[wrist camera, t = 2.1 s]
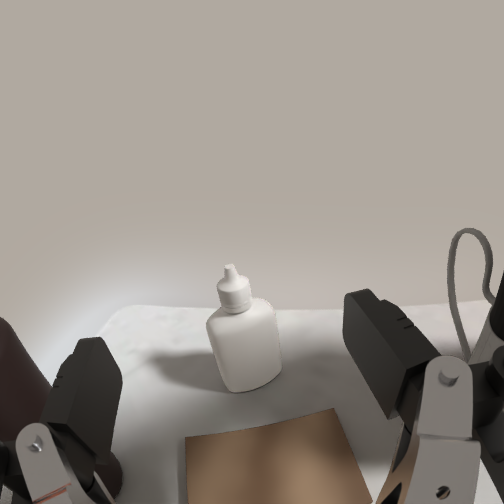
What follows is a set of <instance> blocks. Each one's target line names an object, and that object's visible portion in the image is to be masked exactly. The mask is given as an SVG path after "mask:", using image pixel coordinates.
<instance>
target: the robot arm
mask: <svg viewBox="0 0 504 504" xmlns="http://www.w3.org/2000/svg"><path fill="white" fill-rule="evenodd" d="M343 339H344V342H345V345H346V347H347V349H348V351H349V353H350V354H351V356H352V358H353V359H354V361H355V363H356V365H357V366H358V368H359V370H360V372H361V373H362V375H363V377H364V378H365V380H366V382H367V384H368V385H369V387H370V389H371V391H372V392H373V394H374V396H375V398H376V400H377V401H378V403H379V405H380V407H381V408H382V410H383V412H384V414H385V416H386V417H387V419H388V420H390V419H392V418H394V417H397V416H399V415H400V417H401V418H402V420H403V423H402V426H401V430H400V435H399V439H398V442H397V446H396V450H395V454H394V457H393V461H392V464H391V467H390V471H389V474H388V477H387V479H386V481H385V483H384V485H383V487H382V489H381V492H380V494H379V496H378V499H377V501H376V504H474V499H475V493H476V487H477V480H478V473H479V465H480V458H481V460H482V462H483V464H484V466H485V467H486V469H487V471H488V473H489V475H490V477H491V479H492V481H493V483H494V485H495V487H496V489H497V491H498V493H499V495H500V497H501V499H502V502H503V504H504V411H503V410H504V345H503V346H500V347H498V348H497V349H496V350H495V351H494V353H493V355H492V357H491V359H490V361H486V362H482V363H476V364H471V365H467V364H466V363H465V362H464V361H463V360H461V359H460V358H457V357H454V356H448V355H445V356H442V355H441V354H440V353H439V352H438V351H437V350H436V348H435V347H434V346H433V345H432V344H431V343H430V342H429V340H428V339H427V338H426V337H425V336H424V335H423V334H422V332H421V331H420V330H419V329H418V328H417V327H416V326H414V323H413V322H412V321H411V320H410V319H409V318H407V316H406V315H405V314H404V312H403V311H402V310H401V309H400V308H399V307H398V306H396V305H394V304H392V303H391V302H389V301H387V300H381V301H380V300H379V299H378V298H377V297H376V296H375V295H374V294H373V293H372V291H371V290H369V289H363V290H359V291H356V292H351V293H347V294H346V295H345V298H344V315H343ZM56 377H57V379H55V381H54V383H53V388H51V390H50V393H49V395H48V398H47V401H46V403H45V406H44V409H43V411H42V414H41V417H40V420H39V422H38V423H32V424H30V425H27V426H26V427H25V428H23V429H22V430H21V432H20V433H19V435H18V437H17V439H16V440H13V441H7V442H1V441H0V497H1V491H2V486H3V485H4V486H6V487H7V488H8V489H10V490H11V491H13V496H12V502H11V504H116V502H115V501H114V500H113V498H112V497H111V495H110V493H109V492H108V490H107V489H106V487H105V486H104V484H103V482H102V481H101V479H100V478H99V476H98V474H97V473H96V472H95V471H94V470H95V464H101V465H108V464H109V457H110V450H111V444H112V438H113V432H114V426H115V420H116V415H117V410H118V405H119V400H120V395H121V390H122V384H123V382H122V375H121V371H120V369H119V367H118V365H117V364H116V362H115V360H114V358H113V356H112V354H111V353H110V351H109V349H108V347H107V345H106V343H105V341H104V340H103V339H102V338H101V337H93V338H84V339H80V340H79V341H78V343H77V345H76V347H75V349H74V352H73V354H71V355H69V356H68V358H67V359H66V360H65V361H64V362H63V364H61V366H60V369H59V371H58V373H57V376H56Z"/></svg>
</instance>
